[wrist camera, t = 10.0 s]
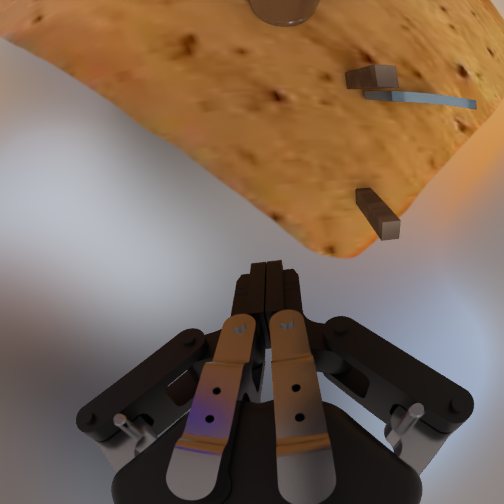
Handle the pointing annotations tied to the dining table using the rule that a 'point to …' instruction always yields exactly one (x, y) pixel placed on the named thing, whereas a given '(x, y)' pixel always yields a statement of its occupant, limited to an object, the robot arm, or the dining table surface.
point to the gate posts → (366, 198)
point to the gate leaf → (420, 98)
